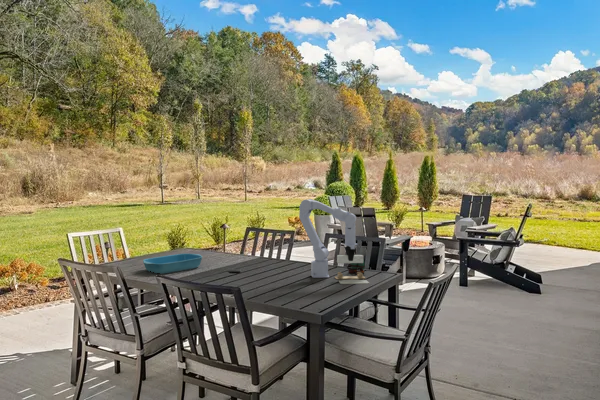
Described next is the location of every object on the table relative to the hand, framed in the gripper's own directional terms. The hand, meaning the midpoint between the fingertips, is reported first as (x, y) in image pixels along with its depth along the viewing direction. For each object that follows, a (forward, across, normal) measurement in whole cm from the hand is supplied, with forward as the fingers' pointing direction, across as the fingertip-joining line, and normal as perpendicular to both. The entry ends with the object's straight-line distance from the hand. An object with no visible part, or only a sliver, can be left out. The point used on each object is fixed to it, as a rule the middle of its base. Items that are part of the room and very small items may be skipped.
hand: (350, 260), depth 236 cm
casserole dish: (+10, +33, +102) cm, 108 cm away
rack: (+10, 0, 0) cm, 10 cm away
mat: (+10, -10, 0) cm, 14 cm away
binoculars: (+10, +13, -6) cm, 18 cm away
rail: (+1, 0, 0) cm, 1 cm away
